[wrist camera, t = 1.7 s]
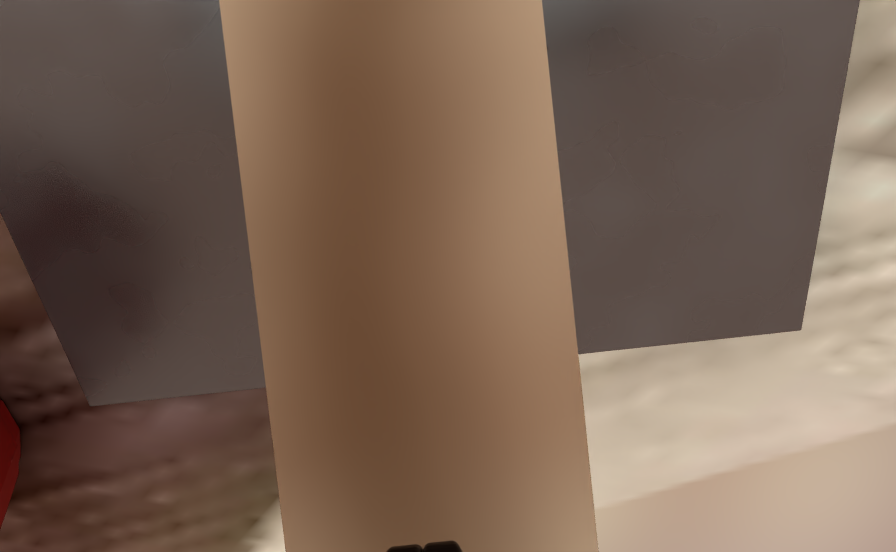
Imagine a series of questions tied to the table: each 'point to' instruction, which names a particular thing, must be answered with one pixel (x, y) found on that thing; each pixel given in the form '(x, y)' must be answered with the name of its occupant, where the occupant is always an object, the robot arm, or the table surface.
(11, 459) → the plastic cup
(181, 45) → the mounting plate
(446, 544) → the robot arm
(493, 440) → the lever
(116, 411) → the table surface
